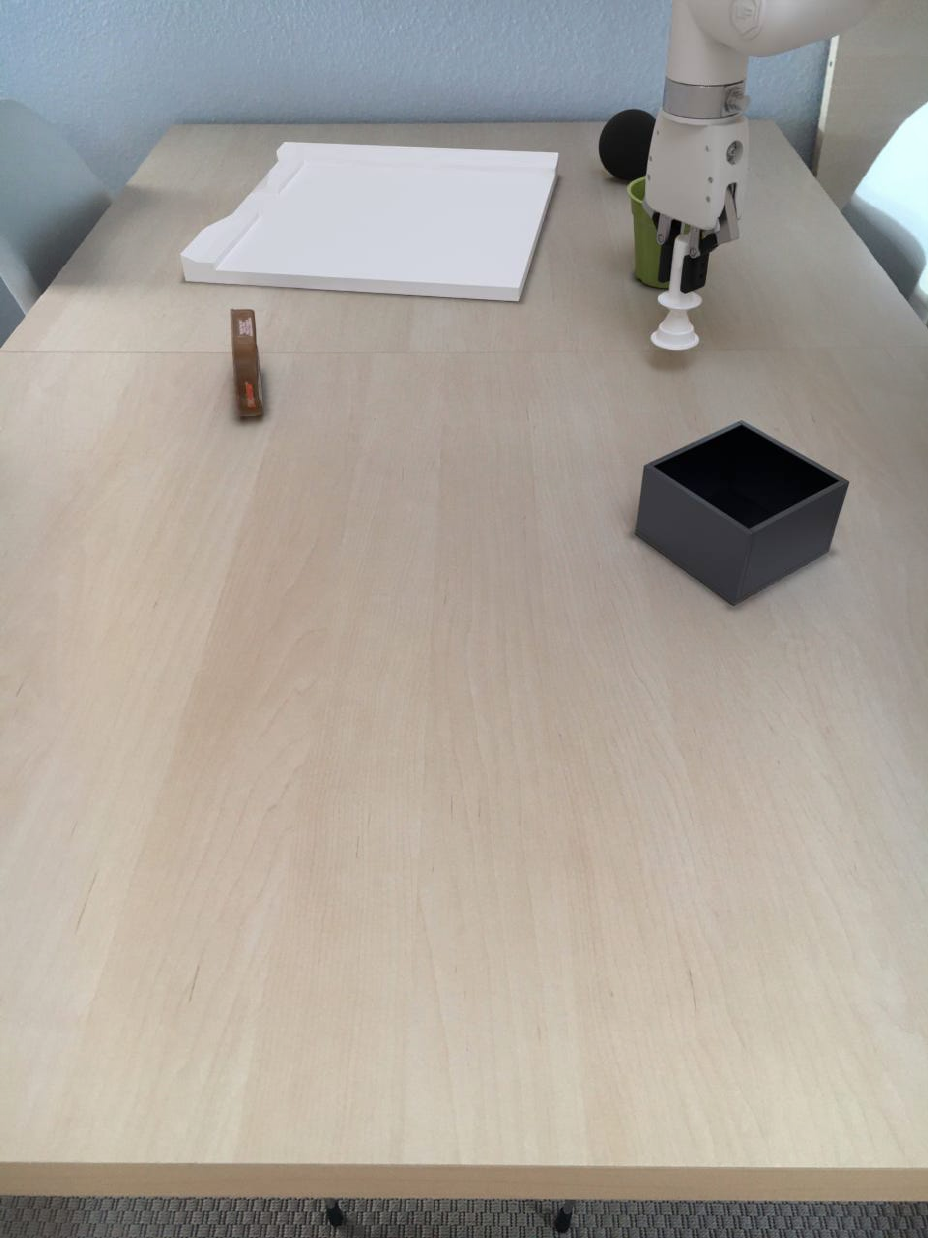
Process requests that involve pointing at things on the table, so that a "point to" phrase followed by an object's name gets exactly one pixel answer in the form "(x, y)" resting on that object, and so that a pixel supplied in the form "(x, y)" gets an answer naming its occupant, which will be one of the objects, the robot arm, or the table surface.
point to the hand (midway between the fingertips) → (681, 282)
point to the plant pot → (646, 237)
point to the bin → (739, 509)
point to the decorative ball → (627, 144)
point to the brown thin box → (246, 362)
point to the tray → (384, 222)
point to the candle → (677, 306)
